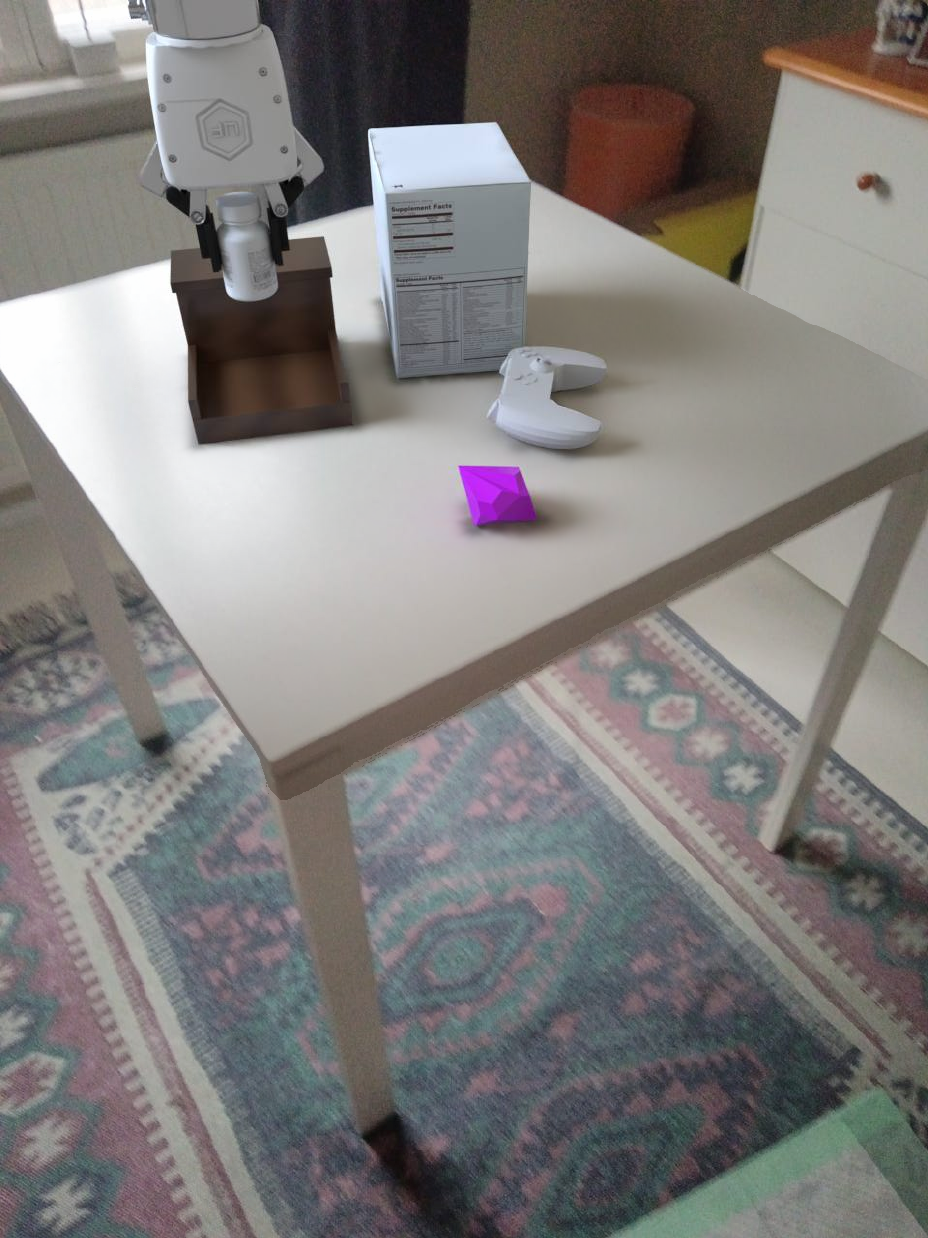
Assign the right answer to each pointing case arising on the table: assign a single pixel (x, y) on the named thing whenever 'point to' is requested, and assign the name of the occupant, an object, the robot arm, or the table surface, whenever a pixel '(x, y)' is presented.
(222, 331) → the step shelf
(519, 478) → the crystal
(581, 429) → the game controller
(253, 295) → the pill bottle
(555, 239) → the table surface
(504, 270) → the supplement box
